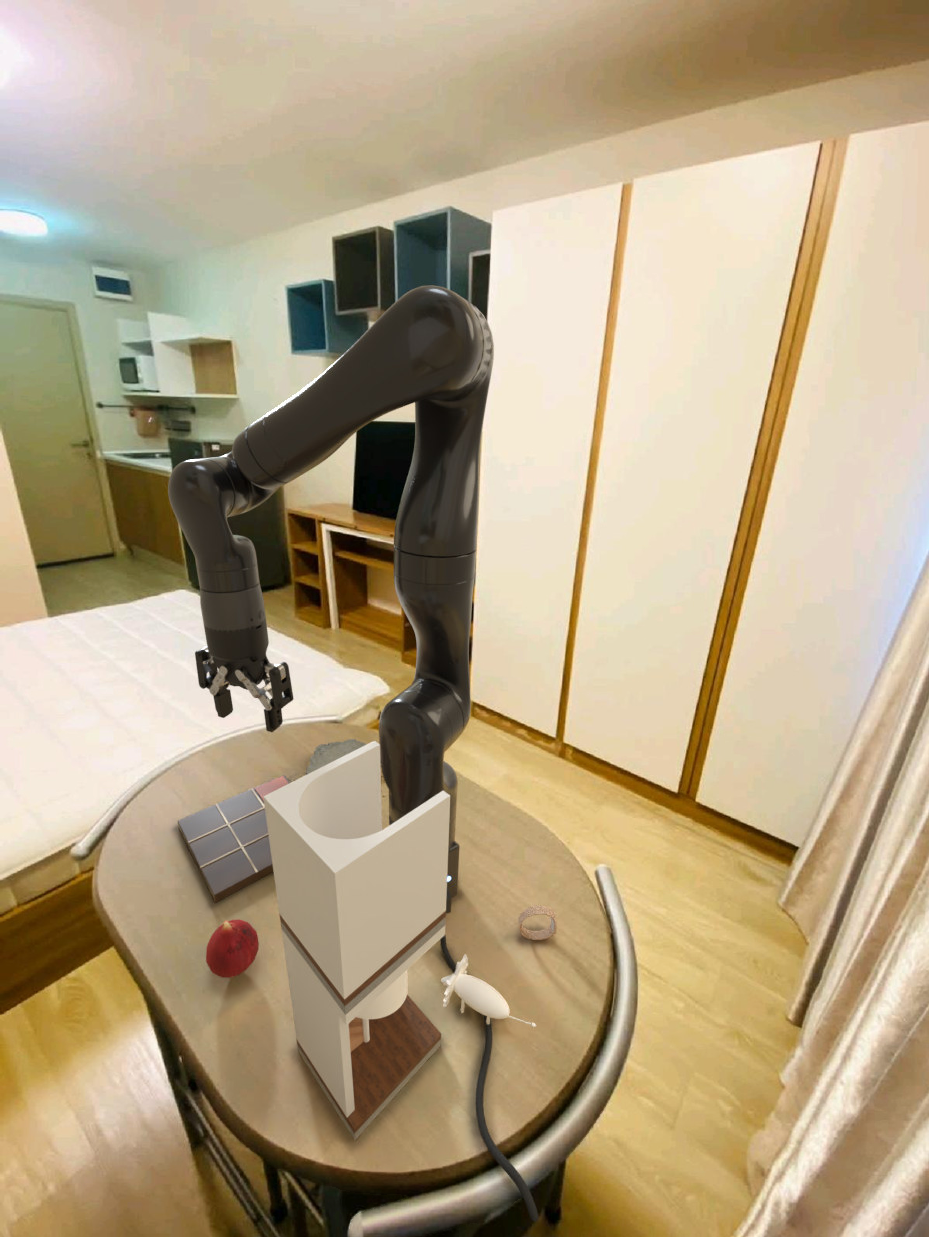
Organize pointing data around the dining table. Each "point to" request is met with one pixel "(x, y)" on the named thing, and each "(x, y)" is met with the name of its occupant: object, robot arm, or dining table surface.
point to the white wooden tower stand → (357, 927)
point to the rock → (332, 753)
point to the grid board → (232, 840)
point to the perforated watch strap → (541, 934)
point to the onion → (232, 948)
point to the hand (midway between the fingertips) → (249, 721)
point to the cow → (476, 994)
